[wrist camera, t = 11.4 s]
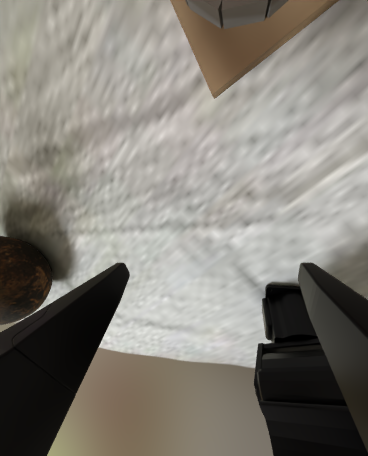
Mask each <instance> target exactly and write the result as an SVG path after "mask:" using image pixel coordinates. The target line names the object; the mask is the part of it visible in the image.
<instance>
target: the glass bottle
mask: <svg viewBox="0 0 368 456" xmlns="http://www.w3.org/2000/svg"><path fill="white" fill-rule="evenodd" d="M51 285H52V272H51V269H50V266H49V264H48V262H47V261H46V259H45V258H44V257H43V256H42V254H41V253H40V252H39V251H37V250H36V249H35V248H34V247H32V246H31V245H29V244H27V243H25V242H23V241H21V240H18V239H15V238H10V237H4V236H0V325H3V324H8V323H12V322H16V321H18V320H21V319H23V318H25V317H27V316H29V315H30V314H32V313H33V312H34V311H36V310H37V309H38V308H39V307H40V306H41V305H42V304H43V302H44V301H45V299H46V298H47V296H48V294H49V291H50V289H51Z"/></svg>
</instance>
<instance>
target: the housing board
mask: <svg viewBox="0 0 368 456" xmlns="http://www.w3.org/2000/svg"><path fill="white" fill-rule="evenodd" d="M170 1H171V3H172V5H173V7H174V10H175V12H176V14H177V16H178V19H179V21H180V23H181V26H182V28H183V30H184V32H185V35H186V37H187V39H188V41H189V44H190V46H191V48H192V50H193V53H194V55H195V57H196V60H197V62H198V64H199V66H200V69H201V71H202V73H203V75H204V78H205V80H206V82H207V84H208V87H209V89H210V91H211V93H212V96H213V97H214V99H215V98H216V97H217V96H219V95H220V94H221V93H222V92H224V91H225V90H226V89H228V88H229V87H230V86H231V85H233V84H234V83H235V82H236V81H238V80H239V79H240V78H241V77H243V76H244V75H245V74H246V73H248V72H249V71H250V70H252V69H253V68H254V67H255V66H257V65H258V64H259V63H260V62H262V61H263V60H264V59H265V58H267V57H268V56H269V55H271V54H272V53H273V52H274V51H276V50H277V49H278V48H279V47H281V46H282V45H283V44H284V43H286V42H287V41H288V40H290V39H291V38H292V37H293V36H295V35H296V34H297V33H298V32H300V31H301V30H302V29H303V28H305V27H306V26H307V25H309V24H310V23H311V22H312V21H314V20H315V19H316V18H317V17H319V16H320V15H321V14H322V13H324V12H325V11H326V10H328V9H329V8H330V7H331V6H333V5H334V4H335V3H336V2H338V1H339V0H170Z"/></svg>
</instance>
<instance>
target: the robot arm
mask: <svg viewBox="0 0 368 456" xmlns="http://www.w3.org/2000/svg"><path fill="white" fill-rule="evenodd" d="M129 276H130V273H129V271H128V269H127V267H126V265H125V264H124V263H116V264H115V265H113V266H111V267H110V268H108V269H106V270H105V271H103V272H101V273H100V274H98V275H97V276H95V277H93V278H92V279H90V280H88V281H87V282H85V283H83V284H82V285H80V286H79V287H77V288H75V289H74V290H72V291H70V292H69V293H67V294H65V295H64V296H62V297H60V298H59V299H57V300H56V301H54V302H53V303H51V304H49V305H47V306H46V307H44V308H42V309H41V310H39V311H37V312H36V313H34V314H32V315H31V316H29V317H27V318H25V319H24V320H22V321H20V322H18V323H16V324H15V325H13V326H11V327H9V328H8V329H6V330H4V331H2V332H0V456H47V454H48V452H49V450H50V448H51V446H52V444H53V442H54V440H55V438H56V435H57V433H58V431H59V429H60V427H61V425H62V423H63V421H64V419H65V416H66V414H67V412H68V410H69V408H70V406H71V404H72V402H73V400H74V398H75V395H76V393H77V391H78V388H79V387H80V385H81V383H82V381H83V378H84V376H85V374H86V372H87V370H88V368H89V366H90V364H91V361H92V360H93V357H94V355H95V353H96V351H97V349H98V347H99V345H100V343H101V341H102V339H103V337H104V334H105V332H106V330H107V328H108V326H109V324H110V322H111V320H112V318H113V316H114V313H115V311H116V309H117V307H118V305H119V303H120V301H121V298H122V295H123V293H124V290H125V287H126V285H127V282H128V279H129ZM298 281H299V284H300V287H292V286H277V285H267V286H266V288H265V298H263V299H262V313H263V320H264V328H265V335H266V338H267V339H268V340H271V341H272V343H268V344H263V343H260V344H258V350H257V359H256V369H255V379H254V386H255V392H256V396H257V398H258V401H259V405H260V408H261V410H262V413H263V415H264V417H265V419H266V423H267V427H268V431H269V435H270V439H271V444H272V449H273V455H274V456H368V300H367V299H366V298H364V297H363V296H361V295H360V294H358V293H357V292H355V291H354V290H352V289H351V288H349V287H348V286H346V285H345V284H344V283H342V282H341V281H339V280H338V279H336V278H335V277H333V276H332V275H330V274H329V273H327V272H326V271H324V270H323V269H321V268H320V267H318V266H317V265H315V264H314V263H301V264H300V268H299V274H298Z"/></svg>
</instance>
